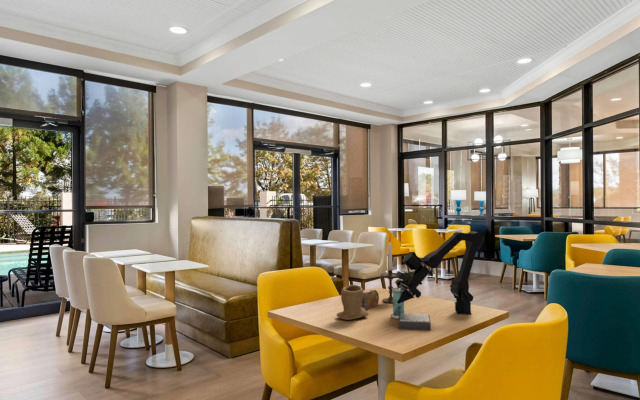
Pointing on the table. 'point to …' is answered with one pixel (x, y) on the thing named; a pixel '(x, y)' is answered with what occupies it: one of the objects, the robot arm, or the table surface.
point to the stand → (414, 321)
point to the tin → (370, 299)
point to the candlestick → (389, 275)
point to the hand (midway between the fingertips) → (395, 301)
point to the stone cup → (352, 303)
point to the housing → (397, 307)
